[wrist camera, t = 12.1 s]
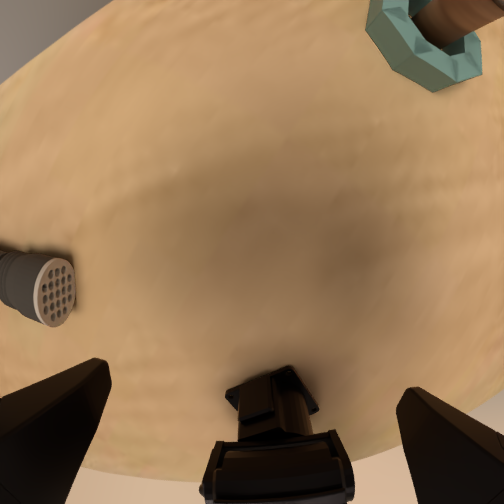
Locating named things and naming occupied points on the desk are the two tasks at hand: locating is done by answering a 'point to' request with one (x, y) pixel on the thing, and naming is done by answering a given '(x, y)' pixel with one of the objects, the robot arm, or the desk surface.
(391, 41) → the green faceted ring
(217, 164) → the desk surface
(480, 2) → the banded wooden post
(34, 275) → the flashlight
